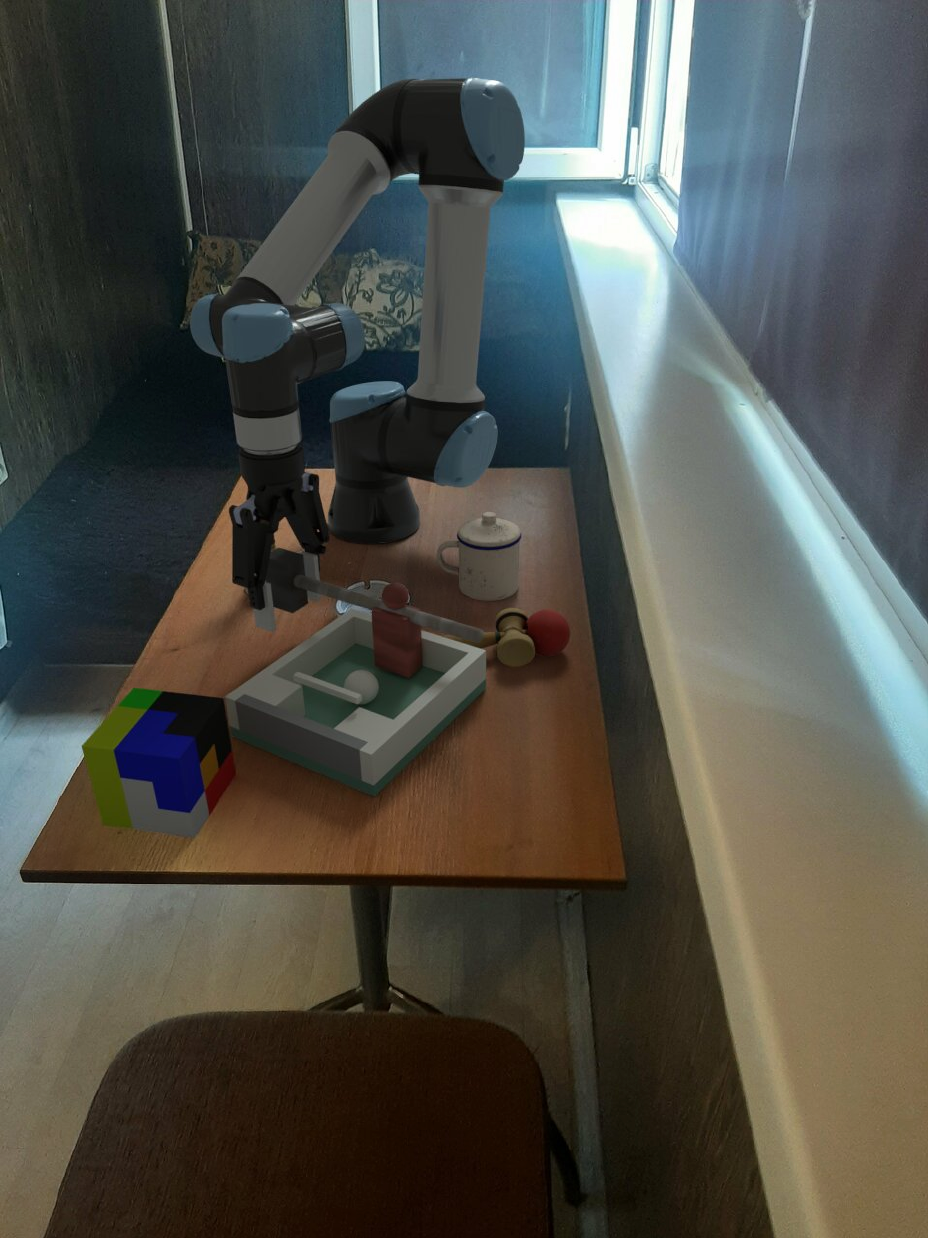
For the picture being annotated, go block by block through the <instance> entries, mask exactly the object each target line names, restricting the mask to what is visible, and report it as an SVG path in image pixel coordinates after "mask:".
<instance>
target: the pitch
mask: <svg viewBox="0 0 928 1238" xmlns="http://www.w3.org/2000/svg"><path fill="white" fill-rule="evenodd" d="M421 634H422V661H423V666H422V667H421V668H420V669H419V670H418V671H416V672H415V673H414V674H413V675H412V676H410V677H409V678H408V677H405V676H402V675H399V674H396V673H393V672H390V671H387V670H384V669H382V668H379V667H376V666H375V659H374V644H373V628H372V613H368V612H365V611H362V610H358V609H355V608H350V609H348V610H347V611H345V612H343V614H341V615H340V616H338V617H337V618H335V619H334V620H333V621H331V622H330V623H328V624H327V625H325V626H324V627H322V628H321V629H320V630H318V631H317V632H315V633H313V635H311V636H310V637H308V638H307V639H305V640H303V641H302V642H300V643H299V644H298V645H297V646H296V647H294V648H293V649H291V650H289V651H288V652H287V653H285V654H284V655H283V656H281V657H280V658H278V659H277V660H276V661H274V662H273V663H271V664H269V665H268V666H267V667H266V668H264V669H262V670H261V671H260V672H258V673H257V674H256V675H254V676H253V677H251V678H250V679H248V680H247V681H245V682H244V683H243V684H241V685H240V686H238V687H237V688H236V689H234V690H232V691H231V692H229V693H227V694H226V695H225V696H224V701H225V705H226V706H225V707H226V714H227V720H228V726H229V729H230V731H229V732H230V738H234V739H237V740H239V741H240V742H241V741H242V742H243V743H246V744H247V745H250V746H253V747H256V748H257V749H260V750H262V751H264V752H267V753H269V754H272V755H275V756H277V757H279V758H281V759H283V760H286V761H288V762H291V763H294V764H296V765H299V766H300V767H303V768H305V769H307V770H310V771H312V772H314V771H315V772H314V773H316V774H319V775H321V776H325V777H327V778H329V779H332V780H334V781H336V782H338V783H340V784H343V785H345V786H348V787H350V788H353V789H355V790H357V791H360V792H362V793H364V794H367V795H369V796H372V797H376V796H377V795H378V794H379V793H380V792H381V791H382V790H383V789H384V788H385V787H386V786H387V785H388V784H389V783H390V782H391V781H392V780H393V779H394V778H396V777H397V776H398V775H399V774H400V772H402V771H403V770H404V769H405V768H406V767H407V766H408V765H409V764H410V763H411V762H412V761H413V760H414V759H415V758H416V757H417V756H418V755H419V754H420V753H422V752H423V750H424V749H425V748H427V747H428V745H430V743H432V742H433V741H434V740H435V739H436V738H437V737H438V736H439V735H440V734H441V733H442V732H443V731H444V730H445V729H446V728H447V727H448V726H449V725H450V724H451V723H452V722H453V721H455V720H456V719H457V717H458V716H460V715H461V713H463V712H464V711H465V709H467V708H468V707H469V706H470V705H471V704H472V703H473V702H474V701H475V700H476V699H477V698H478V697H479V696H480V695H481V694H482V693H483V692H484V691H486V690H487V650H485V649H484V648H482V649H480V648H477V647H473V646H470V645H467V644H464V643H461V642H457V641H454V640H451V639H448V638H445V637H441V636H442V635H440V636H439V635H438V634H435V633H433V632H428V631H425V630H422V629H421ZM357 670H366V671H369V672H371V673H372V674H373V675H374V676H375V677H376V679H377V681H378V685H379V689H378V693H377V695H376V697H375V698H374V699H373V700H372V701H371V702H369V703H367V704H362V705H360V704H358V703H360V702H361V701H362V697H361V694H358V693H356V692H353V691H350V690H347V689H345V688H344V683H345V680H346V678H347V677H348V676H349V675H350V674H351V673H352V672H354V671H357Z"/></svg>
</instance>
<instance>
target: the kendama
mask: <svg viewBox="0 0 928 1238" xmlns="http://www.w3.org/2000/svg"><path fill="white" fill-rule="evenodd" d="M494 619H495V620H494V626H495V630H496V631H489V632H488V631H487V632H485V631H483V638H482V640H481V642H480V643H475V642H472V641H469V640H466V639H463V638H459V637H456V636H453V635H450V634H442V635H438V636H441V637H445V638H448V639H451V640H454V641H457V642H461V643H464V644H467V645H470V646H473V647H477V648H480V649H484V648H488V647H493V646H496V653H497V658H498V660H499V661H500V663H501V664H503V665H504V666H508V667H524V666H526V665H527V664H529V663H530V662H532V661H533V659H534V657H535V655H538V656H541V657H553V656H556V655H558V654H561V653H562V651H564V650H565V649H566V647H567V646H568V644H569V641H570V639H571V628H570V625H569V622H568V620H567V619H566V617H565V616H564V615H562V614H561V613H560V612H558V611H556V610H552V609H541V610H538V611H536V612H534V613H532V614H531V615H530V616H529V617H528V615H527V613H526V612H525V611H524V610H522V609H520V608H516V607H508V608H505V609H502V610H501V611H500V612H498V614H497V615H496V616H495V618H494Z"/></svg>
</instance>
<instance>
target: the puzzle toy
mask: <svg viewBox="0 0 928 1238" xmlns="http://www.w3.org/2000/svg"><path fill="white" fill-rule="evenodd" d="M225 705H226V703H225V697H219V696H208V695H202V694H193V693H192V694H191V693H183V692H175V691H167V690H158V689H157V690H156V689H150V688H149V689H148V688H141V687H140V688H139V687H133V688H132V689H131V690H130V691H129V692H128V694H126V696H124V698H123V699H122V700H121V701H120V702H119V703H118V704H117V706H116V707H114V709H113V710H112V711H111V713H109V715H108V716H107V717H106V718H105V719H104V720H103V722H101V724H99V726H98V727H97V728H96V729H95V730H94V732H93V733H92V734H91V735H90V736H89V737H88V738H87V739H86V740H85V742H83V744H81V749H82V753H83V756H84V760H85V764H86V768H87V772H88V775H89V779H90V783H91V788H92V790H93V794H94V798H95V801H96V807H97V810H98V812H99V813H98V814H99V817H100V821H101V825H102V826H109V827H113V828H114V827H115V828H122V829H129V830H136V831H143V832H150V833H156V834H163V835H164V834H165V835H170V836H171V835H173V836H178V837H185V838H191V839H196V837H197V836H198V835H199V833H200V831H201V830H202V828H203V827H204V826H205V823H206V822H207V820H208V819H209V818H210V815H211V814H212V813H213V811H214V809H215V807H216V806H217V804H218V803H219V802H220V800H221V798H222V797H223V795H224V794H225V793H226V791H227V789H228V788H229V786H230V784H231V783H232V781H233V780H234V778H235V776H236V775H237V773H236V772H237V771H236V765H235V758H234V755H233V748H232V742H231V733H230V731H229V729H230V727H229V721H228V715H227V709H226V706H225Z"/></svg>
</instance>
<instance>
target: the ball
mask: <svg viewBox="0 0 928 1238" xmlns="http://www.w3.org/2000/svg"><path fill="white" fill-rule="evenodd" d="M344 688H345V689H347V690H350V691H353V692H356V693H358V694H361V697H362V701H361V702H360V703H358V704H360V705H362V704H367V703H369V702H371V701H372V700H373V699H374V698H375V697H376V695H377V693H378V689H379V685H378V681H377V679H376V677H375V676H374V675H373V674H372V673H371V672H369V671H366V670H357V671H354V672H352V673H351V674H350V675H349V676H348V677H347V678H346V680H345V683H344Z"/></svg>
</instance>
